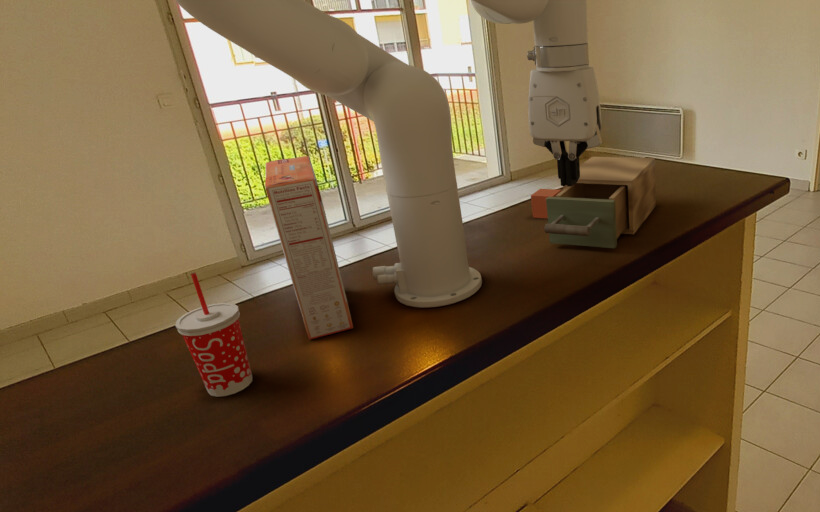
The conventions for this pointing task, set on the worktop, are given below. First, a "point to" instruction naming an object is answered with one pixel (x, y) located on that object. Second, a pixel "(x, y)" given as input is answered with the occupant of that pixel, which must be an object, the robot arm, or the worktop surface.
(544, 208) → the block
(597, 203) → the drawer
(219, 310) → the beverage cup
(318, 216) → the cracker box
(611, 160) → the cabinet
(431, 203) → the robot arm
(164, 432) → the worktop surface
